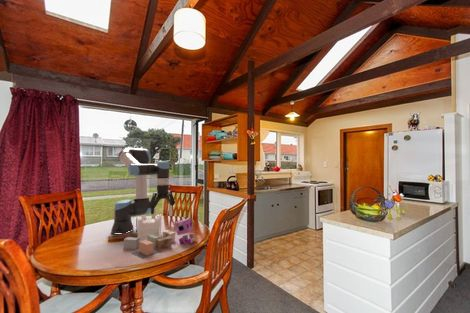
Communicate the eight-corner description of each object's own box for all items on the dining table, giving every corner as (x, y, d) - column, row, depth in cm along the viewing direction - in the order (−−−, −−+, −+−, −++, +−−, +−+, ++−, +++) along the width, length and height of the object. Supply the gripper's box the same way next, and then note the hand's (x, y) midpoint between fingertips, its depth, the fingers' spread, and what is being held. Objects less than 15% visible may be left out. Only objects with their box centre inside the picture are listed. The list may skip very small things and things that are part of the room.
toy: (190, 243, 142) (184, 221, 144) (179, 246, 143) (173, 224, 145) (196, 238, 152) (191, 217, 154) (186, 241, 154) (181, 220, 156)
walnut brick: (158, 250, 133) (159, 241, 133) (156, 248, 136) (156, 239, 136) (171, 247, 138) (171, 238, 138) (168, 245, 141) (168, 236, 141)
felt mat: (130, 254, 127) (130, 253, 127) (149, 247, 137) (149, 246, 137) (142, 259, 120) (142, 258, 120) (161, 252, 130) (161, 251, 130)
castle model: (136, 242, 145) (137, 220, 145) (141, 235, 159) (141, 214, 159) (159, 241, 148) (159, 219, 148) (161, 234, 162) (162, 214, 162)
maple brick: (162, 240, 150) (162, 231, 150) (167, 238, 153) (167, 230, 153) (170, 242, 146) (170, 233, 146) (174, 241, 149) (175, 232, 149)
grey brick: (123, 249, 134) (123, 239, 134) (127, 246, 138) (127, 237, 138) (135, 249, 134) (136, 240, 134) (139, 247, 138) (139, 237, 138)
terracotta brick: (139, 251, 129) (139, 241, 130) (145, 249, 133) (145, 239, 133) (147, 255, 125) (147, 244, 125) (153, 253, 128) (153, 242, 128)
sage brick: (147, 244, 142) (147, 235, 142) (152, 243, 145) (152, 233, 145) (154, 247, 137) (155, 238, 137) (160, 245, 140) (160, 236, 140)
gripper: (150, 186, 132) (149, 221, 131) (181, 183, 153) (180, 213, 152) (142, 185, 136) (141, 219, 135) (173, 182, 157) (173, 212, 156)
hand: (162, 216), depth 144 cm, fingers open, 13 cm apart
